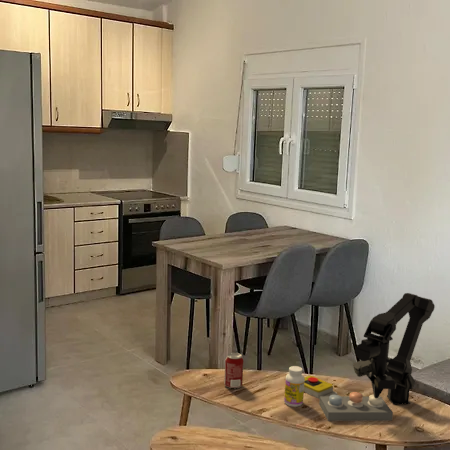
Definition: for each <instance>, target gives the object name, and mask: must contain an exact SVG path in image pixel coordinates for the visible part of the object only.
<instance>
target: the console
mask: <svg viewBox="0 0 450 450" xmlns="http://www.w3.org/2000/svg"><path fill="white" fill-rule="evenodd" d="M340 396H341V395H340ZM349 396H350V395H347V396H345V395H344V396H341V397H342V398H343V399H342V404H341V405H332V404H330V403H329V396H320V399H318V400H319V401H318V402H319V403H318V405H319V407H320V409H321V411H322V412H323V414H324V416H325V418H326V420H327V422H365V421H366V422H370V421H371V422H376V421H377V422H380V421H381V422H386V421H387V422H388V421H389V422H392V421H393V416H394V411H393V410H392V409H391V408H390V407H389V405H388V404H387V402H386V401H385V400H384V399H383V398H382V404H381V405H373V404H370V403H369V396H370V395H369V396H367V395H365V396H364V395H363V399H362V402H360V403H356V402H352V401H350V400H349Z"/></svg>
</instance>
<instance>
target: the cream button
mask: <svg viewBox="0 0 450 450" xmlns="http://www.w3.org/2000/svg"><path fill="white" fill-rule="evenodd" d="M382 399H383V397H382V396H381V395H379V397H378V398H375V397H374V394H370V395H369V403H370V404H373V405H381V404H382Z"/></svg>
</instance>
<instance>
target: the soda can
mask: <svg viewBox="0 0 450 450" xmlns="http://www.w3.org/2000/svg"><path fill="white" fill-rule="evenodd" d="M243 358H244V357H243V355H242V354H241V353H239V352H230V353H227V355H226V358H225V360H224V380H223V382H224V383H223V384H224V386H225V387H226V388H228V387H229V389H231V388H234V389H233V390H235V389H236V388H237V389H239V388H241V387H242V386H243V382H244V381H243V379H244V377H243V376H244V375H243V374H244V359H243ZM237 389H236V390H237Z"/></svg>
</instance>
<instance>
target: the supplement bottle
mask: <svg viewBox="0 0 450 450" xmlns="http://www.w3.org/2000/svg"><path fill="white" fill-rule="evenodd" d="M304 377H305V376H304V375H303V368H302V367H301V366H298V365H292V366H289V368H288V373H287V374H286V376H285V382H284V383H285V384H284V395H283V396H284V397H283V402H284V403H285V405H287V406H289V407H295V408H297V407H300V406H302V405H303V403H304V393H305V392H304V381H305V379H304Z"/></svg>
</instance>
